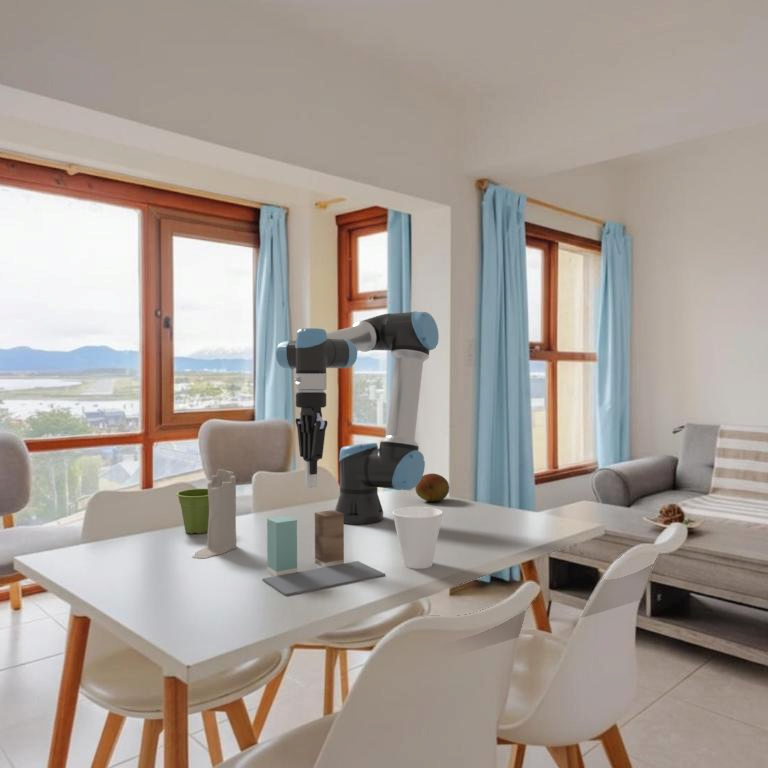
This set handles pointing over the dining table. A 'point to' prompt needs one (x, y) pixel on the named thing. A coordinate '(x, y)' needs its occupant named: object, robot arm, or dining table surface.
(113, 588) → the dining table surface
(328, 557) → the walnut pillar
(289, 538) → the teal pillar
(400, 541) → the cup
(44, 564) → the dining table surface
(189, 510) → the plant pot
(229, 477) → the grey boot
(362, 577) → the slate mat
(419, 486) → the fruit
